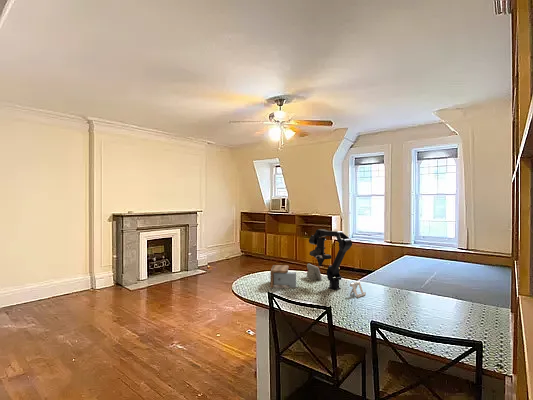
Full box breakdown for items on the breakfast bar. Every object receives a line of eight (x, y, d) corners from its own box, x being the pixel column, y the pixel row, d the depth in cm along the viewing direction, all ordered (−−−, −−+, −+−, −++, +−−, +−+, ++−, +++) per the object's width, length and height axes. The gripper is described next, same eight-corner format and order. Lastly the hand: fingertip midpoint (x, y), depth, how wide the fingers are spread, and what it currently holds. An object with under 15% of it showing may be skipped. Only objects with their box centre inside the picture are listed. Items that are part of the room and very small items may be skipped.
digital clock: (322, 280, 248) (322, 267, 248) (311, 281, 247) (311, 267, 247) (315, 275, 264) (315, 262, 264) (305, 276, 263) (305, 263, 263)
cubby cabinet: (290, 281, 245) (290, 265, 245) (289, 288, 227) (289, 270, 227) (273, 280, 247) (273, 264, 247) (270, 287, 229) (270, 270, 229)
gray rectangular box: (296, 286, 233) (296, 272, 233) (295, 288, 228) (295, 274, 228) (274, 285, 235) (274, 271, 235) (273, 287, 230) (273, 273, 230)
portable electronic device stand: (358, 298, 207) (358, 285, 206) (348, 295, 213) (348, 282, 213) (365, 295, 212) (365, 283, 212) (355, 292, 218) (355, 280, 218)
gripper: (304, 244, 243) (303, 265, 243) (321, 248, 227) (320, 270, 227) (315, 243, 249) (314, 263, 249) (332, 247, 233) (331, 268, 233)
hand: (320, 266), depth 240 cm, fingers closed
